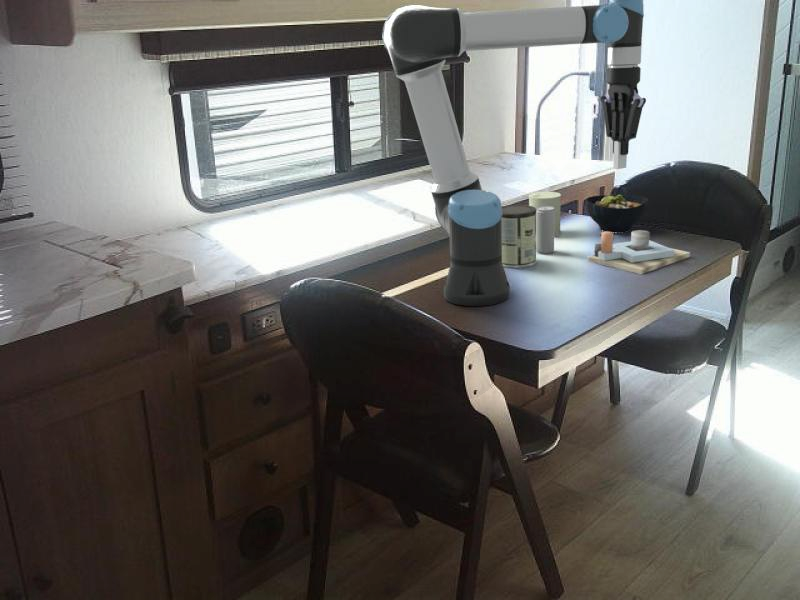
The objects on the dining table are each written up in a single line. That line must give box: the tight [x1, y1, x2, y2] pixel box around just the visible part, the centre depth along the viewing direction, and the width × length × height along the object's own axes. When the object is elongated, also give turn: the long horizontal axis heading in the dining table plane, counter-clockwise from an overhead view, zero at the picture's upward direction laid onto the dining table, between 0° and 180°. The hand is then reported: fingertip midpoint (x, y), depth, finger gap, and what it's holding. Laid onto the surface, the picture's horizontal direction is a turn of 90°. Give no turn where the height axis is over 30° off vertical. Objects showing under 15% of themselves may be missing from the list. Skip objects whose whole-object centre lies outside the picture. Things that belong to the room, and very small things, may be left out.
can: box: [528, 191, 562, 238], centre depth 229 cm, size 9×9×12 cm
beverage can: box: [536, 206, 555, 255], centre depth 211 cm, size 5×5×12 cm
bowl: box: [585, 194, 649, 234], centre depth 230 cm, size 17×17×10 cm
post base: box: [588, 229, 691, 275], centre depth 202 cm, size 20×16×7 cm
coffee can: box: [501, 204, 537, 269], centre depth 204 cm, size 10×10×14 cm
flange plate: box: [598, 231, 674, 263], centre depth 201 cm, size 17×12×7 cm
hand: (619, 167), depth 191 cm, fingers closed
